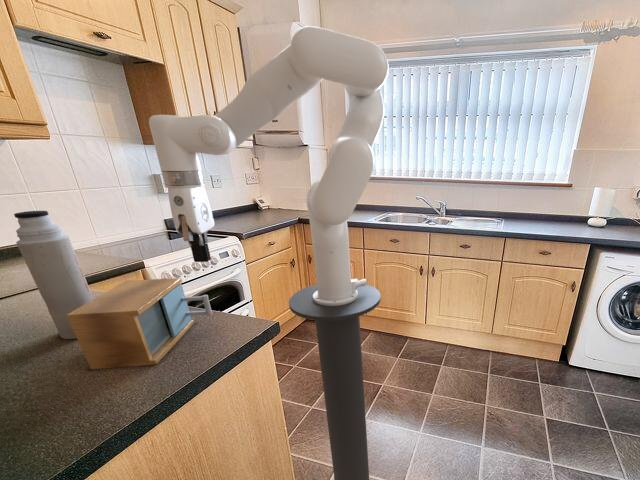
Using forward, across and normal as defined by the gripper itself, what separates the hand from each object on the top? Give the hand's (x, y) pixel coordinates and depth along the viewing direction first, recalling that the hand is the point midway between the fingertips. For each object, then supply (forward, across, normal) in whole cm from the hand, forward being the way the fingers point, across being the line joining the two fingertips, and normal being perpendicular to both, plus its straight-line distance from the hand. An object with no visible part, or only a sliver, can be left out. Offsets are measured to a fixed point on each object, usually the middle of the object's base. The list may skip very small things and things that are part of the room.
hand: (202, 260), depth 80 cm
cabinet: (+15, -11, +10) cm, 22 cm away
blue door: (+14, -7, +2) cm, 16 cm away
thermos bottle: (+16, -3, +29) cm, 33 cm away
